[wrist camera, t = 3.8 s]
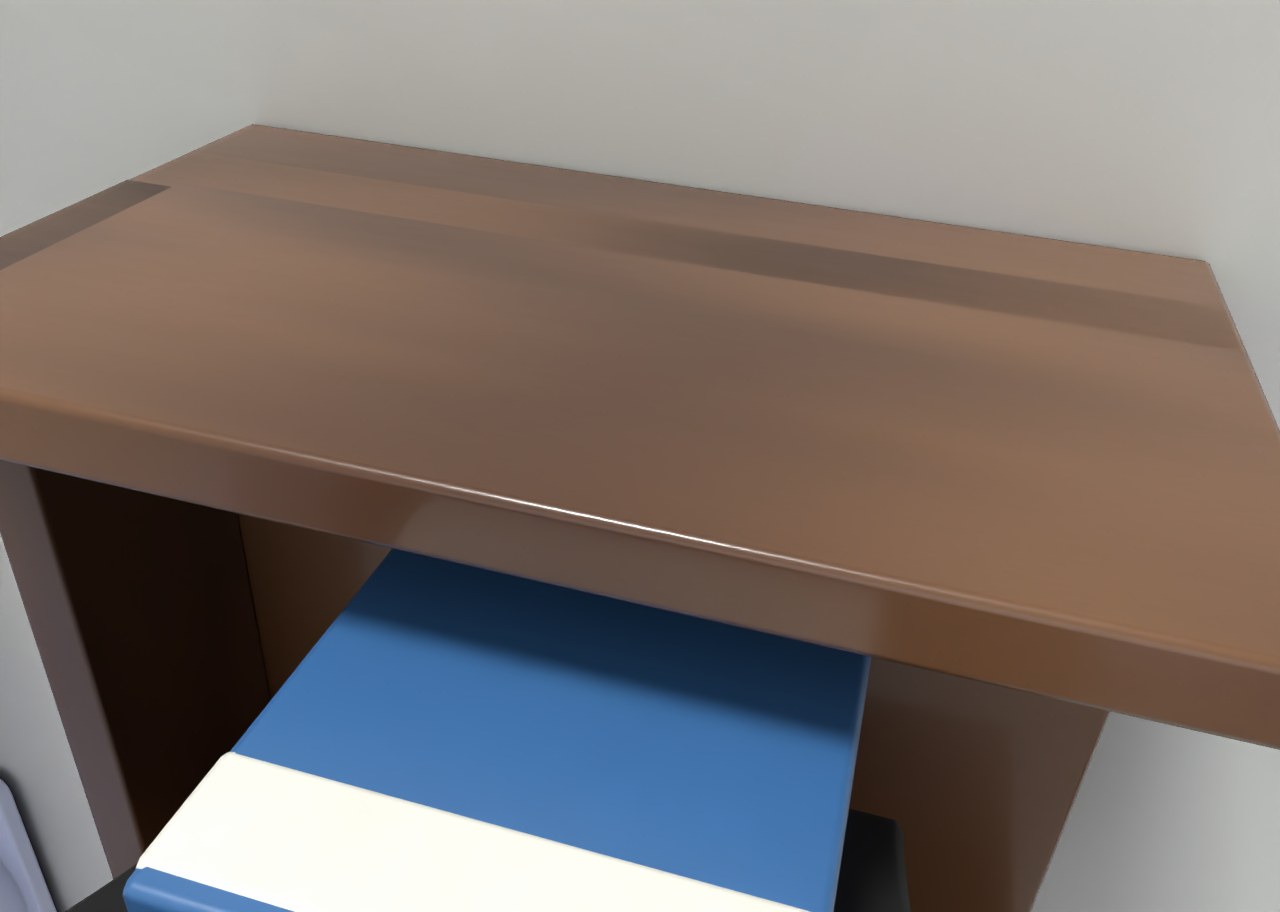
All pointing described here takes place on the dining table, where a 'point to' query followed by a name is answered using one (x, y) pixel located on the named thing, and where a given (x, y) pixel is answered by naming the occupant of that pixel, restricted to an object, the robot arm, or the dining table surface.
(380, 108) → the dining table surface
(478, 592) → the blue book
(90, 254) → the shelf
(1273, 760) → the dining table surface
